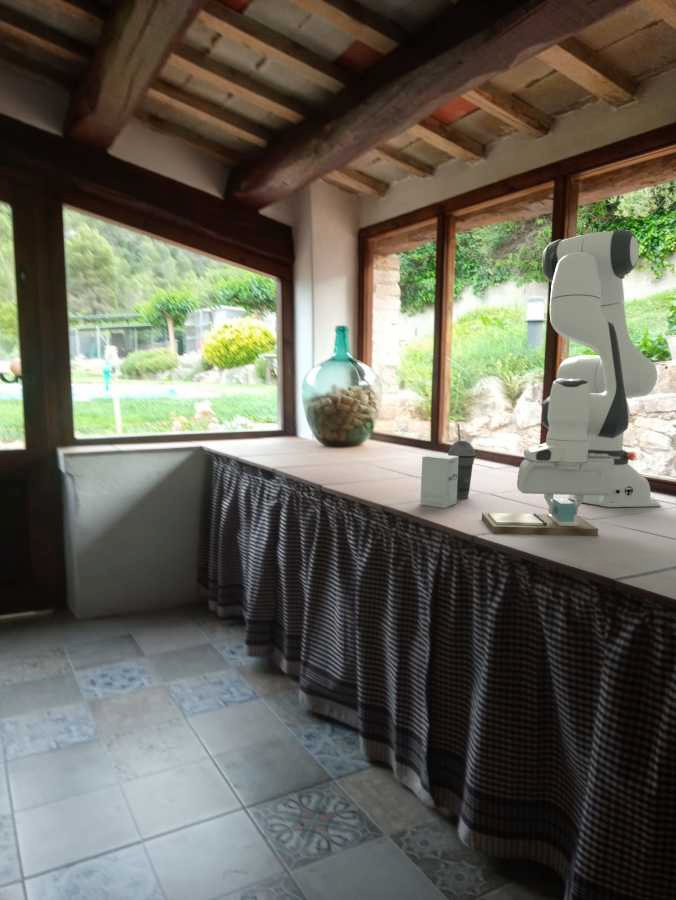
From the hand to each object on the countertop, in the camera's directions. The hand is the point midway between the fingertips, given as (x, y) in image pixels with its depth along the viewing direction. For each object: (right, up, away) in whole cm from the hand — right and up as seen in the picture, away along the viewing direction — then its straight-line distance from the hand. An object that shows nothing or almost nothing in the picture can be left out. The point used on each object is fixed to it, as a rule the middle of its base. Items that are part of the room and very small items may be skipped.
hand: (562, 514), depth 143 cm
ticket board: (-7, -3, 0) cm, 7 cm away
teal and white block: (0, -2, 0) cm, 2 cm away
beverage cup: (-17, +1, +33) cm, 37 cm away
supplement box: (-24, 0, +23) cm, 33 cm away
